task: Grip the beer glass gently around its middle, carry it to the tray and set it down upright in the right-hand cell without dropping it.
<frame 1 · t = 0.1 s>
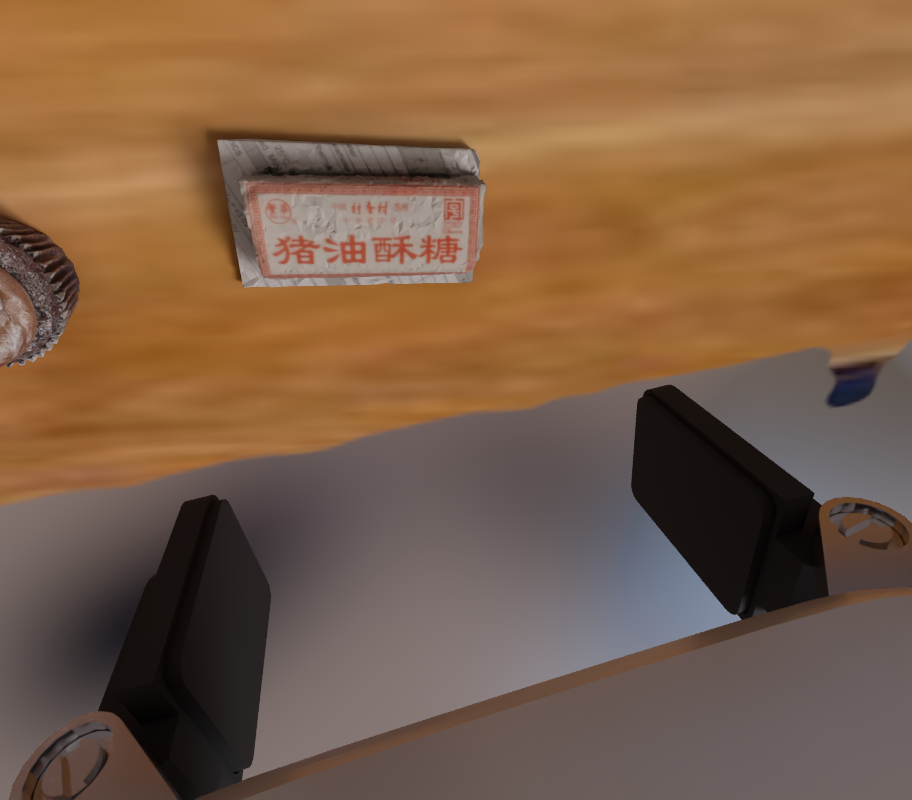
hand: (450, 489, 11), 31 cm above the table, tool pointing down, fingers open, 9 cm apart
cupcake: (14, 274, 34), on the table
packaged product: (358, 215, 38), on the table
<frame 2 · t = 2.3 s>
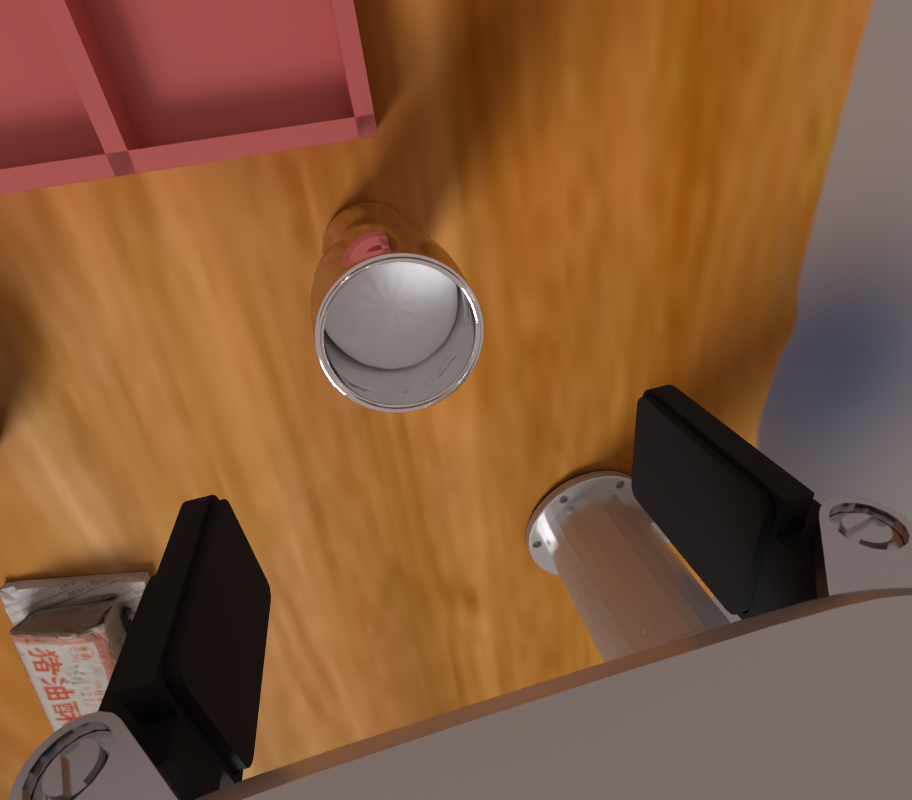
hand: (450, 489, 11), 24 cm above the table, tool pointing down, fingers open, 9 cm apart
tray: (85, 21, 24), on the table
packaged product: (106, 642, 43), on the table
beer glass: (371, 251, 32), on the table
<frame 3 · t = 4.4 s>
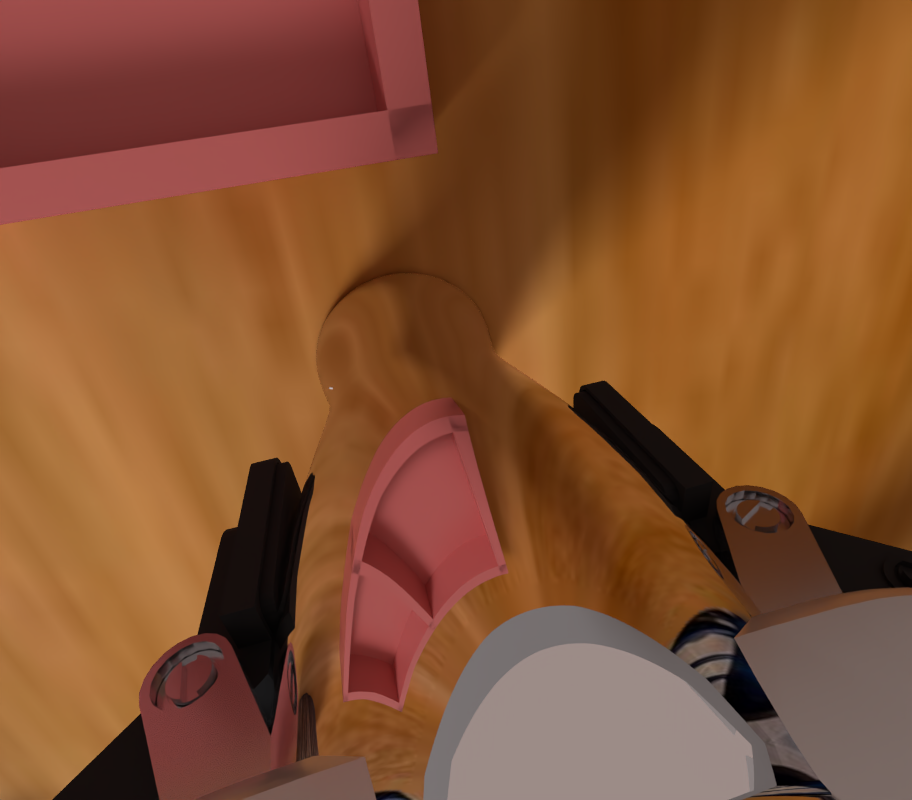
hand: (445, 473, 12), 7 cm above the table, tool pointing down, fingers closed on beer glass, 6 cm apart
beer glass: (405, 355, 18), on the table, touching gripper
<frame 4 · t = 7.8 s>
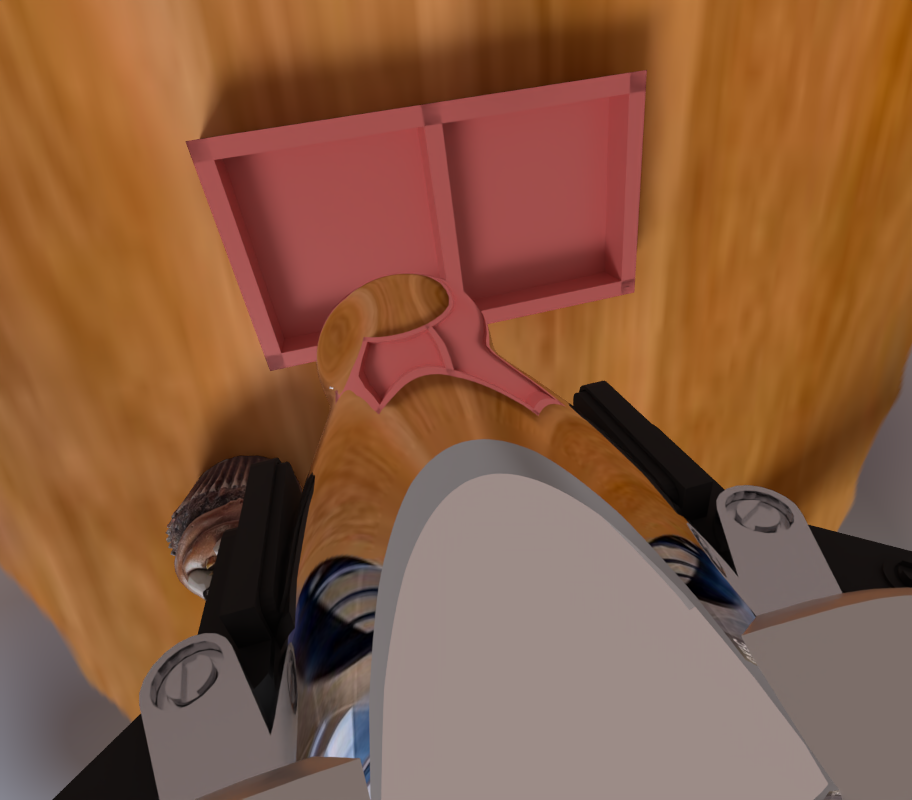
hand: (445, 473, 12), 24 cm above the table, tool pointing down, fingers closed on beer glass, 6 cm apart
tray: (437, 220, 32), on the table
cupcake: (251, 494, 39), on the table
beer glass: (405, 354, 18), point 17 cm above the table, touching gripper
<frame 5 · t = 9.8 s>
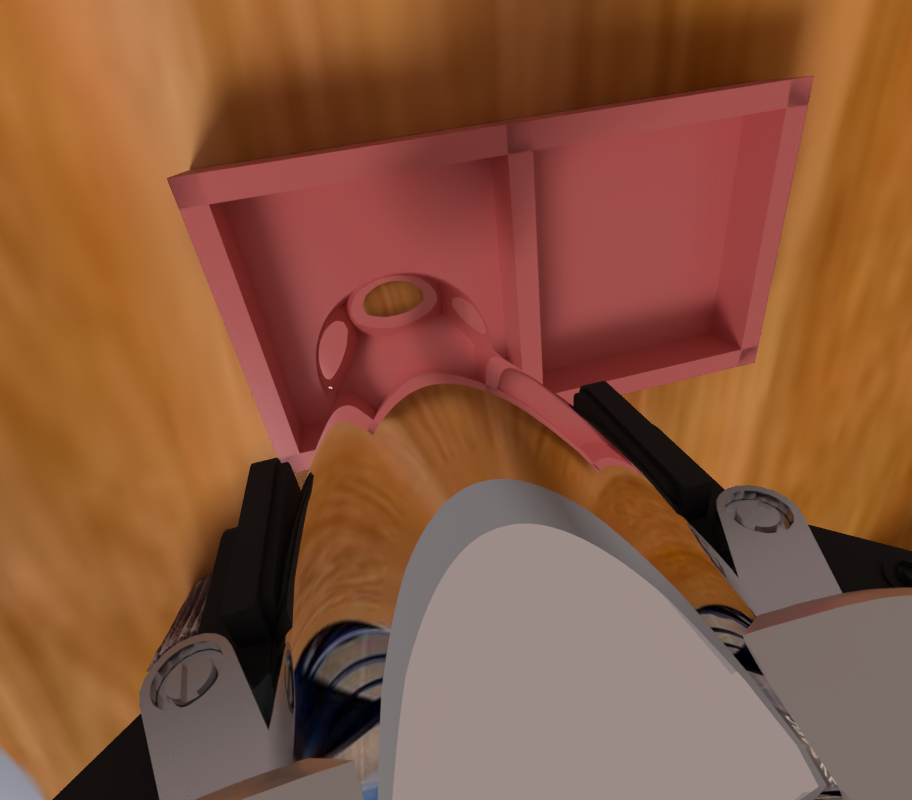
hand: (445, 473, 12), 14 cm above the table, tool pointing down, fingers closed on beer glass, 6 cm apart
tray: (505, 272, 24), on the table
cupcake: (255, 602, 31), on the table
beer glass: (404, 354, 18), point 7 cm above the table, touching gripper
when the fingers open (8 cm above the table, at t = 11.4 s): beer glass stays where it is, resting on tray.
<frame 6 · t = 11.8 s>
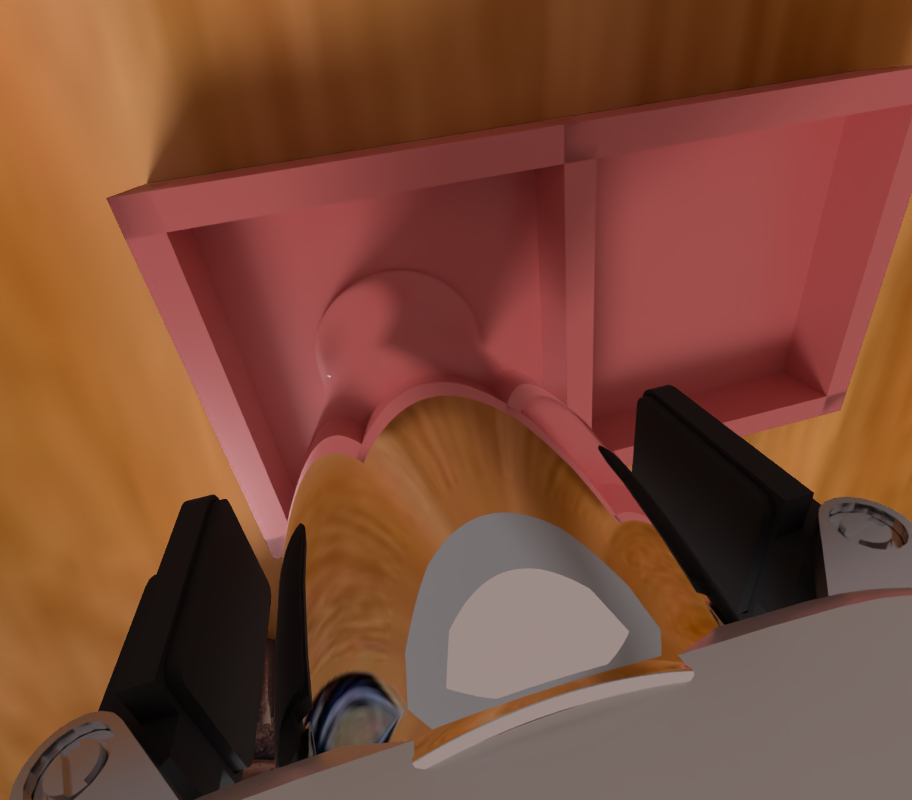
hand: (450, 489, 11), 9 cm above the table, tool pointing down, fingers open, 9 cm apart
tray: (545, 305, 20), on the table
cupcake: (243, 681, 27), on the table
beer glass: (398, 348, 19), point 1 cm above the table, touching tray
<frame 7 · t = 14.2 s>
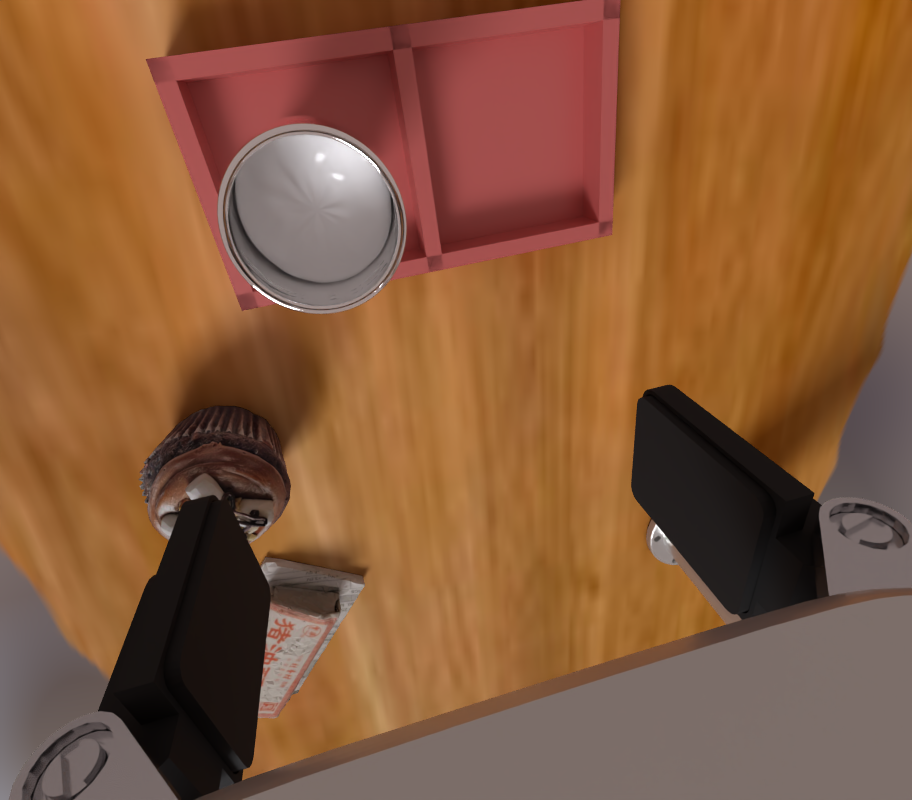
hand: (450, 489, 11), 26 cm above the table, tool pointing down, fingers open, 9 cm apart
tray: (411, 158, 32), on the table
cupcake: (228, 447, 39), on the table
packaged product: (282, 621, 51), on the table
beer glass: (316, 179, 31), point 1 cm above the table, touching tray
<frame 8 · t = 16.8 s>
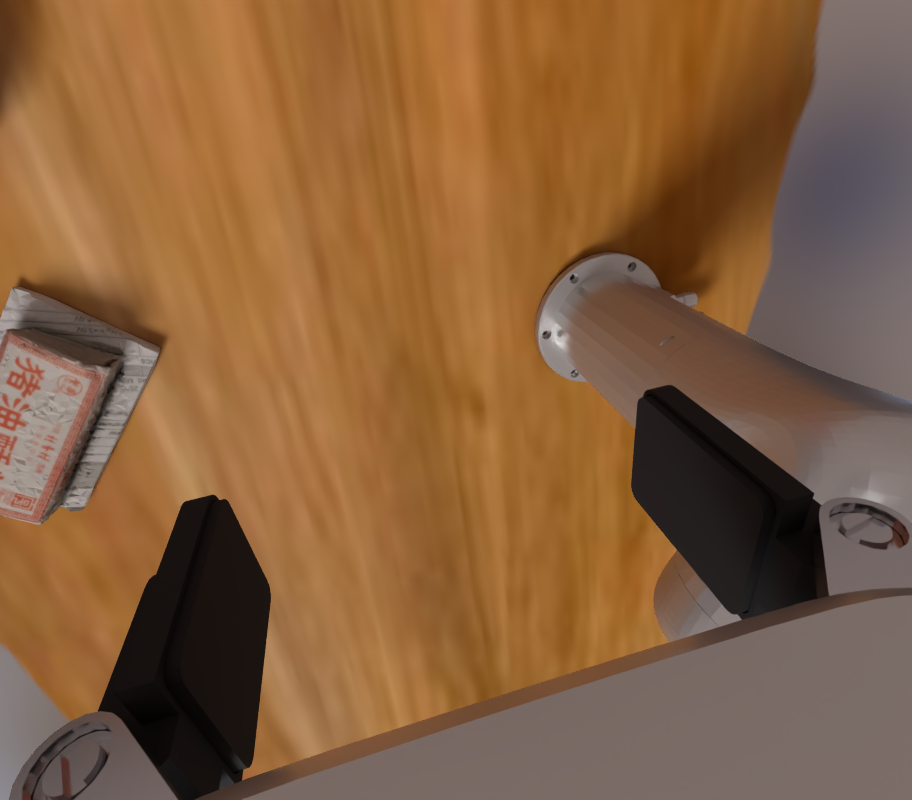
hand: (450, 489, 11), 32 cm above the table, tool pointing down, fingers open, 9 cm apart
packaged product: (59, 404, 41), on the table
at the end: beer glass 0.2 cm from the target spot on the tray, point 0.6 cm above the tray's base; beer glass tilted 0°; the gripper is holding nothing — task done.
